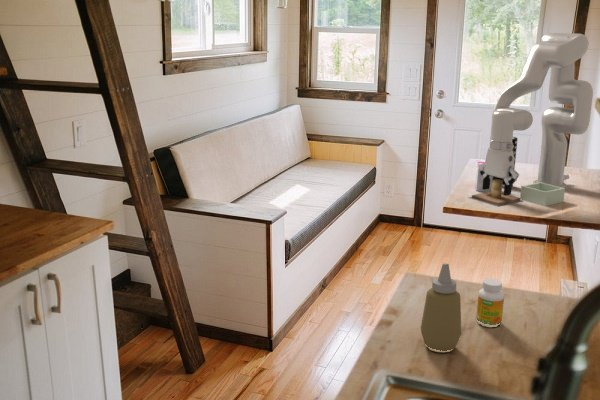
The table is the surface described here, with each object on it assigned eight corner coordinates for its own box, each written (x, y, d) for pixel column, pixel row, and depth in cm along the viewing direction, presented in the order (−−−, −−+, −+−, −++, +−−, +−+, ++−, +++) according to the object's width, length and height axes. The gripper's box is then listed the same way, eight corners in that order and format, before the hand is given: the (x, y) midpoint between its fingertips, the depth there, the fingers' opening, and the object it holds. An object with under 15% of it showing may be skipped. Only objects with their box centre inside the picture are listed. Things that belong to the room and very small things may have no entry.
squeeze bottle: (415, 338, 134) (419, 257, 130) (452, 337, 135) (459, 256, 130) (425, 358, 127) (431, 272, 122) (465, 356, 127) (472, 271, 122)
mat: (493, 194, 245) (493, 192, 245) (523, 203, 234) (524, 200, 234) (467, 200, 238) (467, 197, 237) (497, 209, 226) (498, 206, 226)
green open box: (538, 197, 242) (539, 182, 240) (563, 204, 233) (565, 188, 232) (519, 201, 236) (521, 185, 234) (544, 208, 228) (546, 192, 226)
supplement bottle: (477, 327, 139) (480, 285, 137) (474, 316, 144) (478, 276, 142) (502, 329, 139) (507, 287, 136) (499, 318, 144) (503, 278, 141)
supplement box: (491, 194, 246) (494, 165, 243) (475, 193, 247) (477, 164, 244) (490, 190, 251) (492, 161, 248) (474, 189, 252) (477, 161, 249)
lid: (493, 193, 243) (495, 175, 242) (519, 200, 234) (521, 181, 232) (471, 197, 237) (473, 179, 235) (497, 205, 227) (499, 186, 226)
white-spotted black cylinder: (487, 187, 256) (491, 137, 251) (496, 183, 262) (501, 135, 256) (506, 191, 251) (511, 140, 245) (516, 187, 256) (521, 137, 251)
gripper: (527, 148, 225) (522, 195, 230) (488, 140, 239) (484, 185, 244) (513, 150, 221) (508, 198, 226) (474, 142, 235) (471, 188, 240)
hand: (496, 191), depth 235 cm, fingers open, 9 cm apart
